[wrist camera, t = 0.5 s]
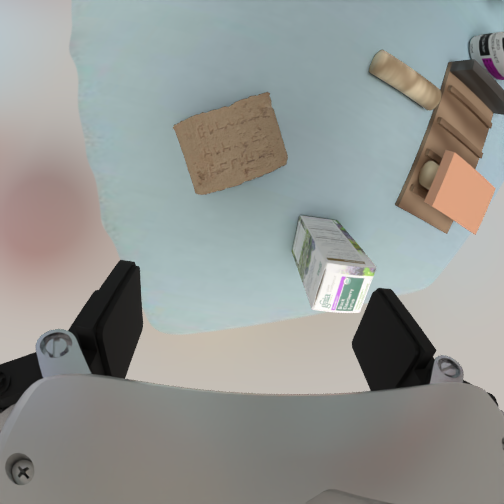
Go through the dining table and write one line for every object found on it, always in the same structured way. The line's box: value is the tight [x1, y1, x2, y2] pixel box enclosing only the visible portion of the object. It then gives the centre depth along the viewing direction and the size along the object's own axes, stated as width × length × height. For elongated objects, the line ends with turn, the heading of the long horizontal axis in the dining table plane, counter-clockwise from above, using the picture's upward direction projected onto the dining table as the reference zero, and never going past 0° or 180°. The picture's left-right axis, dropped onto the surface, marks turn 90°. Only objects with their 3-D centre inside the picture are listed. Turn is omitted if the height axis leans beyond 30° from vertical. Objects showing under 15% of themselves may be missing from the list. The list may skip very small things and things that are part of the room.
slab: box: [424, 150, 495, 234], centre depth 32 cm, size 8×11×2 cm
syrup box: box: [292, 216, 376, 313], centre depth 34 cm, size 6×6×14 cm
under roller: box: [419, 161, 439, 190], centre depth 35 cm, size 4×10×4 cm, turn 70°
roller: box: [369, 50, 441, 110], centre depth 30 cm, size 4×10×4 cm, turn 70°
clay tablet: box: [173, 92, 288, 195], centre depth 34 cm, size 14×10×3 cm
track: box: [395, 59, 504, 234], centre depth 33 cm, size 26×12×6 cm, turn 159°
